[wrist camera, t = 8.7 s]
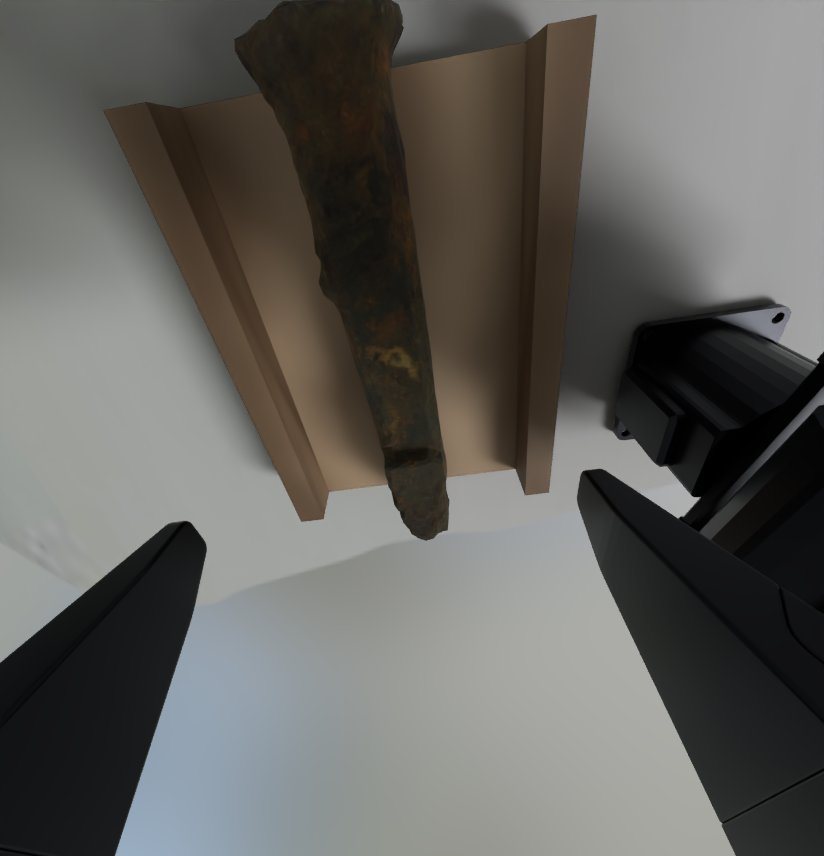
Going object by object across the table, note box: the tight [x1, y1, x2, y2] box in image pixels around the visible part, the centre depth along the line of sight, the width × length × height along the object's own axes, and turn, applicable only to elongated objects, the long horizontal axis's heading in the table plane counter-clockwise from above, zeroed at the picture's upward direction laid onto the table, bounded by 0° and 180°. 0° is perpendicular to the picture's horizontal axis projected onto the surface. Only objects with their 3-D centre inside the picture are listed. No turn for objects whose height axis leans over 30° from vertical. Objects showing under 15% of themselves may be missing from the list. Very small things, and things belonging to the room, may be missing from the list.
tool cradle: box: [103, 15, 597, 522], centre depth 16 cm, size 13×17×3 cm
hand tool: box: [235, 0, 449, 541], centre depth 15 cm, size 19×4×5 cm, turn 8°
